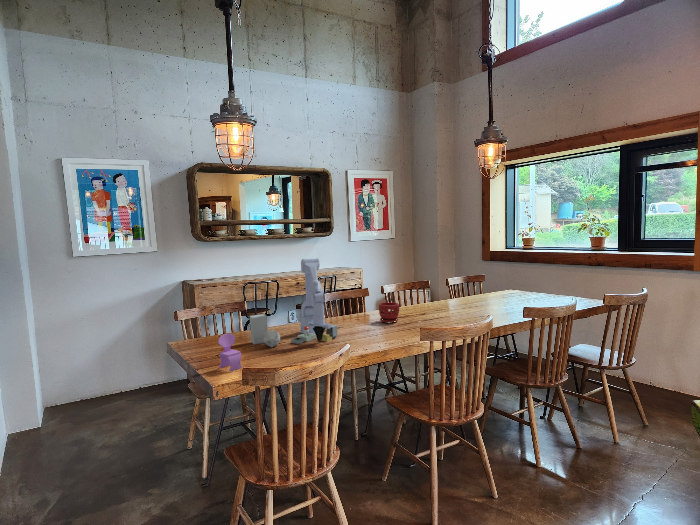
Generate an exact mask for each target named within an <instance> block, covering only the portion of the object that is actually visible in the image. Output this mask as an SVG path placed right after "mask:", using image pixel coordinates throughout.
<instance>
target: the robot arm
mask: <svg viewBox="0 0 700 525" xmlns="http://www.w3.org/2000/svg"><path fill="white" fill-rule="evenodd" d="M319 269H320V260H319V258H318V257H317V258H302V259H301V260H300V271H301V273H303V274H304V279H305V280H304V284H305V301H304V302H303V303H301V308H300V313H301V319H300V322H299V323H300V324H299V325H300V331H299V333H300V334H304V327H306V326H308V327H309V334H315V335H316V340H317V342H320V341H321V340H322V336H323V334H325V332H326V328H327V329H329V328H331V325H332V324H331V323H330V324H329V323H327V322H325V302H326V295H325V292H324V290H323V288H322V284H321V281H319V280H318V271H319Z"/></svg>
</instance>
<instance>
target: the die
mask: <svg viewBox="0 0 700 525" xmlns="http://www.w3.org/2000/svg"><path fill="white" fill-rule="evenodd" d="M263 342H264V343H263V344H265V345H266V346H267V347H270V348H275V347H277V345H278V344H279V343H280V342H281V334H280V333H279V332H278V331H277V330H274V329H270V330H268V331H267V332H266V333H265V335H264V336H263Z"/></svg>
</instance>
